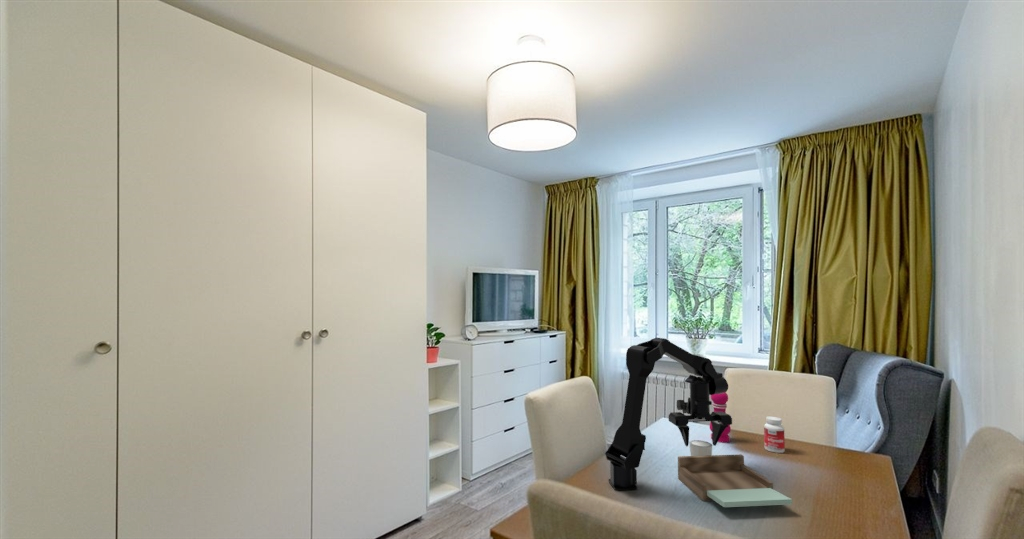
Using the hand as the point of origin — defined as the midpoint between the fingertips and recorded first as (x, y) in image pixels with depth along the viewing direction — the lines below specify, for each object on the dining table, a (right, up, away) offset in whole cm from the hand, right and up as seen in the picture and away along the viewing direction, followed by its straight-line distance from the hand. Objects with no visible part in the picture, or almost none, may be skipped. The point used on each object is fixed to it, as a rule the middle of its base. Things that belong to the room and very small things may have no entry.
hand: (700, 445), depth 142 cm
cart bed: (0, -6, -16) cm, 17 cm away
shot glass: (0, -7, 0) cm, 7 cm away
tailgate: (0, -2, -24) cm, 24 cm away
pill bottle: (+32, -7, +14) cm, 35 cm away
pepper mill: (+18, -8, +24) cm, 31 cm away
